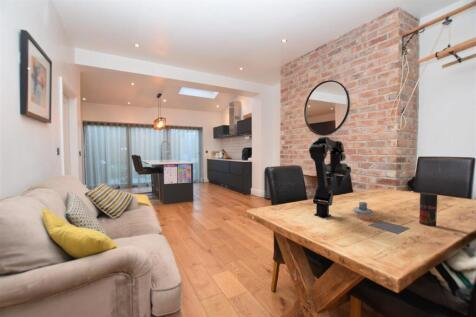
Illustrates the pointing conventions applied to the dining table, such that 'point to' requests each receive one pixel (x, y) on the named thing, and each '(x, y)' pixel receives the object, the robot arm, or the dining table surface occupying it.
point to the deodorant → (428, 209)
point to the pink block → (362, 216)
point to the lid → (363, 209)
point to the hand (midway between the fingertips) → (334, 187)
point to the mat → (389, 227)
